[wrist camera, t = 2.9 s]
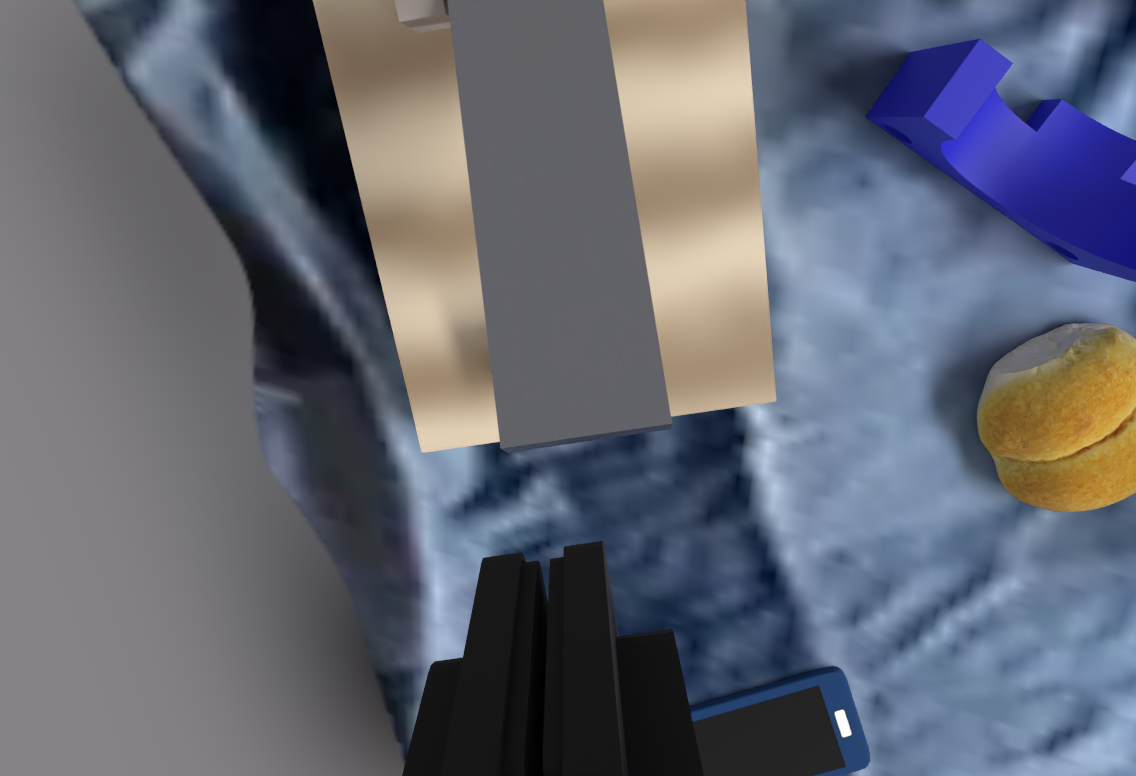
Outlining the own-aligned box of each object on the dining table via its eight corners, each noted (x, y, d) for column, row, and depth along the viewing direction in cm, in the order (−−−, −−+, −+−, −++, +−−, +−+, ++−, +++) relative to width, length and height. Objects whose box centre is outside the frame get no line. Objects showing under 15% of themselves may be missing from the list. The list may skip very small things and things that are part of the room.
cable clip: (1143, 176, 34) (1257, 187, 28) (1071, 263, 35) (1166, 290, 30) (932, 18, 32) (1009, -3, 26) (863, 117, 33) (923, 116, 28)
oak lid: (327, -24, 32) (267, -59, 25) (721, -96, 31) (758, -150, 24) (433, 428, 38) (405, 488, 32) (760, 379, 37) (798, 432, 31)
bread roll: (1015, 520, 40) (1061, 562, 36) (944, 380, 37) (986, 410, 34) (1174, 440, 38) (1240, 476, 34) (1111, 289, 36) (1175, 310, 32)
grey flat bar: (451, -22, 27) (439, -61, 26) (592, -48, 27) (589, -89, 25) (508, 453, 24) (498, 447, 22) (669, 430, 24) (672, 421, 22)
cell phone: (870, 756, 45) (875, 767, 44) (642, 820, 47) (643, 830, 46) (839, 658, 43) (843, 667, 42) (601, 728, 44) (601, 738, 44)
